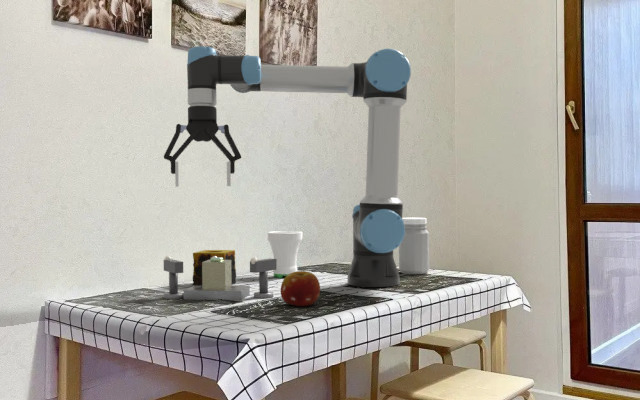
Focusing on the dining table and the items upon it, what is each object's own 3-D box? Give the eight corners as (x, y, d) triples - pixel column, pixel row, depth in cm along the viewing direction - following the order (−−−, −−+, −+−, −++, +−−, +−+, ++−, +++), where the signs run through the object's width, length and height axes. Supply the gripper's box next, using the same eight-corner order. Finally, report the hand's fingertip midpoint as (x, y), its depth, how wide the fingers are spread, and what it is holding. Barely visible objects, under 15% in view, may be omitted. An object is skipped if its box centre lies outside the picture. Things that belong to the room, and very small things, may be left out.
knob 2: (266, 293, 179) (265, 254, 179) (280, 295, 176) (280, 255, 176) (244, 298, 172) (244, 257, 172) (259, 300, 169) (259, 258, 169)
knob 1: (188, 298, 172) (188, 257, 172) (170, 300, 170) (169, 258, 169) (176, 294, 179) (175, 254, 179) (158, 296, 177) (157, 256, 176)
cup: (309, 275, 217) (309, 231, 216) (289, 279, 207) (289, 233, 207) (281, 273, 223) (281, 230, 223) (260, 277, 213) (260, 232, 213)
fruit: (288, 310, 156) (288, 275, 156) (275, 304, 164) (274, 271, 164) (326, 306, 160) (326, 272, 160) (311, 301, 168) (311, 268, 168)
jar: (408, 270, 229) (407, 217, 228) (434, 272, 223) (433, 217, 223) (393, 273, 221) (393, 218, 220) (420, 275, 215) (420, 219, 215)
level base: (249, 294, 178) (249, 254, 178) (241, 300, 169) (241, 257, 169) (194, 294, 180) (194, 254, 180) (183, 299, 171) (183, 257, 171)
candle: (225, 288, 192) (225, 253, 191) (191, 287, 194) (191, 252, 193) (237, 283, 202) (236, 249, 201) (205, 282, 204) (204, 249, 203)
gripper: (247, 108, 186) (248, 186, 186) (154, 107, 181) (155, 186, 181) (250, 105, 179) (251, 185, 179) (153, 103, 173) (154, 186, 174)
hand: (203, 186), depth 180 cm, fingers open, 13 cm apart
